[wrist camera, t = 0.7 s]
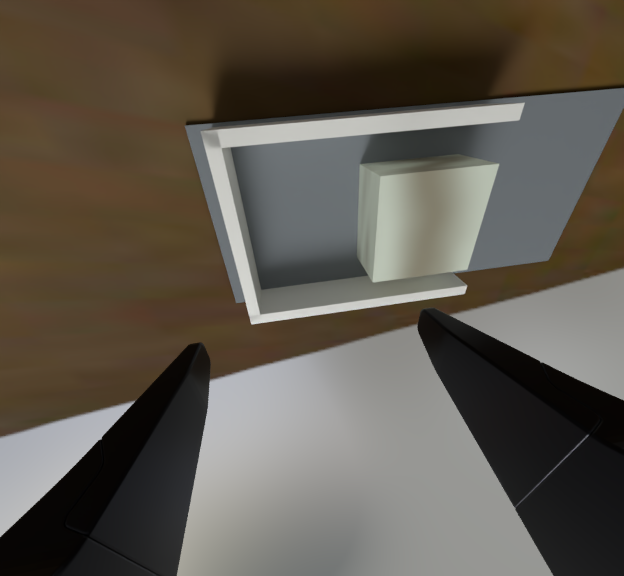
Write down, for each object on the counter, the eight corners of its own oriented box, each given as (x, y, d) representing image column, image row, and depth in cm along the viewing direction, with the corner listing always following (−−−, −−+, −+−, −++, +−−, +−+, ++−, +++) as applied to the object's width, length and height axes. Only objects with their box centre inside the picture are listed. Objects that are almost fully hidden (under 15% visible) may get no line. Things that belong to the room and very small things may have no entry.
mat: (630, 87, 18) (633, 87, 18) (546, 259, 25) (548, 260, 25) (185, 125, 16) (184, 125, 15) (236, 301, 23) (236, 303, 23)
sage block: (458, 154, 18) (499, 163, 15) (438, 246, 22) (467, 269, 19) (359, 164, 18) (380, 176, 15) (356, 256, 22) (372, 282, 19)
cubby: (481, 103, 17) (525, 102, 14) (441, 271, 24) (464, 293, 21) (212, 127, 16) (200, 131, 13) (253, 297, 23) (251, 324, 20)
